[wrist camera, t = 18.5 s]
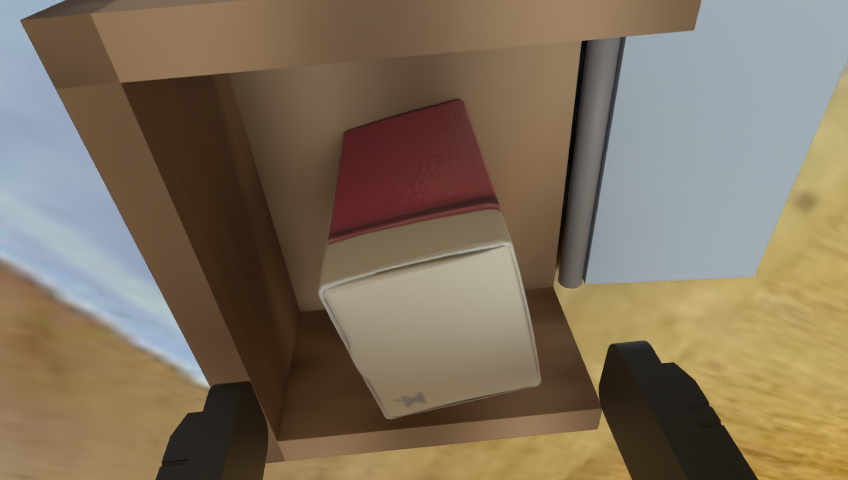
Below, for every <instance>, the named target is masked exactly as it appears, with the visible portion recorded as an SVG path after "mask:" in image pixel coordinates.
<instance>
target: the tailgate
mask: <svg viewBox="0 0 848 480" xmlns="http://www.w3.org/2000/svg"><path fill="white" fill-rule="evenodd" d="M847 59H848V0H702V1H701V5H700V9H699V13H698V17H697V21H696V25H695V29H694V31H683V32H672V33H661V34H650V35H639V36H628V37H617V38H606V39H595V40H587V48H586V57H585V65H584V73H583V81H582V89H581V97H580V106H579V114H578V122H577V130H576V138H575V146H574V155H573V163H572V171H571V179H570V187H569V195H568V204H567V212H566V220H565V228H564V236H563V245H562V253H561V261H560V269H559V277H558V281H559V283H560V284H561V285H562V286H564V287H566V288H577V287H579V286H580V285H581V284H582V279H583V280H584V283H585V284H606V283H628V282H650V281H672V280H694V279H716V278H738V277H754V275H755V273H756V270H757V268H758V266H759V263H760V261H761V259H762V257H763V254H764V252H765V250H766V247H767V245H768V243H769V240H770V238H771V236H772V233H773V231H774V229H775V226H776V224H777V222H778V219H779V217H780V215H781V212H782V210H783V208H784V206H785V203H786V201H787V199H788V196H789V194H790V192H791V189H792V187H793V185H794V182H795V180H796V178H797V175H798V173H799V171H800V168H801V166H802V164H803V161H804V159H805V157H806V154H807V152H808V150H809V148H810V145H811V143H812V141H813V138H814V136H815V134H816V131H817V129H818V127H819V124H820V122H821V120H822V117H823V115H824V113H825V110H826V108H827V106H828V103H829V101H830V99H831V97H832V94H833V92H834V90H835V87H836V85H837V83H838V80H839V78H840V76H841V73H842V71H843V69H844V66H845V64H846V62H847Z"/></svg>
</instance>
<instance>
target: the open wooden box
mask: <svg viewBox="0 0 848 480" xmlns="http://www.w3.org/2000/svg"><path fill="white" fill-rule="evenodd" d="M701 1H702V0H65V1H63V2H61V3H58V4H56V5H54V6H51V7H49V8H47V9H45V10H42V11H40V12H38V13H36V14H33V15H31V16H29V17H26V18H24V19H22V20H20V21H21V23H22V25H23V27H24V29H25V31H26V33H27V35H28V37H29V39H30V41H31V42H32V44H33V46H34V48H35V50H36V52H37V54H38V56H39V58H40V60H41V62H42V64H43V66H44V67H45V69H46V71H47V73H48V75H49V77H50V79H51V81H52V83H53V85H54V87H55V89H56V91H57V93H58V94H59V96H60V98H61V100H62V102H63V104H64V106H65V108H66V110H67V112H68V114H69V116H70V118H71V120H72V121H73V123H74V125H75V127H76V129H77V131H78V133H79V135H80V137H81V139H82V141H83V143H84V145H85V146H86V148H87V150H88V152H89V154H90V156H91V158H92V160H93V162H94V164H95V166H96V168H97V170H98V172H99V173H100V175H101V177H102V179H103V181H104V183H105V185H106V187H107V189H108V191H109V193H110V195H111V197H112V198H113V200H114V202H115V204H116V206H117V208H118V210H119V212H120V214H121V216H122V218H123V220H124V222H125V224H126V225H127V227H128V229H129V231H130V233H131V235H132V237H133V239H134V241H135V243H136V245H137V247H138V249H139V250H140V252H141V254H142V256H143V258H144V260H145V262H146V264H147V266H148V268H149V270H150V272H151V274H152V276H153V277H154V279H155V281H156V283H157V285H158V287H159V289H160V291H161V293H162V295H163V297H164V299H165V301H166V303H167V304H168V306H169V308H170V310H171V312H172V314H173V316H174V318H175V320H176V322H177V324H178V326H179V328H180V329H181V331H182V333H183V335H184V337H185V339H186V341H187V343H188V345H189V347H190V349H191V351H192V353H193V355H194V356H195V358H196V360H197V362H198V364H199V366H200V368H201V370H202V372H203V374H204V376H205V378H206V380H207V381H208V383H209V385H210V387H212V386H213V385H215V384H223V383H232V382H242V381H250V382H251V384H252V386H253V388H254V391H255V393H256V396H257V398H258V400H259V403H260V405H261V408H262V410H263V413H264V415H265V418H266V421H267V425H268V450H267V456H266V462H265V463H272V462H282V461H292V460H302V459H311V458H321V457H331V456H341V455H350V454H360V453H370V452H380V451H389V450H399V449H409V448H419V447H428V446H438V445H448V444H458V443H467V442H477V441H487V440H497V439H506V438H516V437H526V436H536V435H545V434H555V433H565V432H575V431H584V430H594V429H598V425H599V421H600V417H601V413H602V407H601V404H600V401H599V399H598V396H597V394H596V391H595V389H594V386H593V384H592V381H591V379H590V376H589V374H588V372H587V369H586V367H585V364H584V362H583V359H582V357H581V354H580V352H579V349H578V347H577V344H576V342H575V340H574V337H573V335H572V332H571V330H570V327H569V325H568V322H567V320H566V317H565V315H564V313H563V310H562V308H561V305H560V303H559V300H558V298H557V295H556V293H555V290H554V288H553V284H554V275H555V266H556V258H557V249H558V240H559V232H560V223H561V215H562V206H563V197H564V189H565V180H566V171H567V163H568V154H569V145H570V137H571V128H572V119H573V111H574V102H575V93H576V85H577V76H578V68H579V59H580V50H581V42H582V41H584V40H595V39H606V38H617V37H628V36H639V35H650V34H661V33H672V32H683V31H694V29H695V25H696V21H697V17H698V13H699V9H700V5H701ZM455 100H462V101H463V102H464V103H465V106H466V108H467V111H468V115H469V117H470V120H471V123H472V126H473V129H474V131H475V134H476V137H477V140H478V143H479V146H480V150H481V153H482V156H483V159H484V161H485V164H486V167H487V170H488V173H489V176H490V179H491V182H492V184H493V187H494V190H495V193H496V196H497V199H498V202H499V205H500V209H501V212H502V215H503V218H504V221H505V223H506V226H507V229H508V232H509V235H510V238H511V241H512V243H513V247H514V251H515V255H516V259H517V263H518V267H519V270H520V274H521V278H522V282H523V287H524V291H525V295H526V300H527V304H528V309H529V313H530V318H531V323H532V328H533V333H534V338H535V344H536V350H537V356H538V363H539V370H540V376H541V383H540V384H539V385H538V386H535V387H531V388H525V389H521V390H516V391H513V392H509V393H504V394H500V395H496V396H491V397H487V398H484V399H478V400H474V401H470V402H465V403H461V404H457V405H453V406H447V407H442V408H439V409H434V410H430V411H425V412H419V413H415V414H410V415H406V416H402V417H398V418H394V419H387V418H385V416H384V415H383V412H382V410H381V408H380V406H379V405H378V403H377V402H376V400H375V398H374V396H373V394H372V393H371V391H370V389H369V388H368V386H367V384H366V382H365V381H364V379H363V377H362V375H361V374H360V372H359V371H358V369H357V367H356V366H355V364H354V362H353V360H352V358H351V356H350V354H349V352H348V350H347V348H346V346H345V344H344V342H343V340H342V339H341V337H340V335H339V333H338V332H337V330H336V328H335V326H334V324H333V322H332V320H331V319H330V316H329V314H328V312H327V310H326V308H325V306H324V305H323V303H322V301H321V299H320V297H319V294H318V289H319V283H320V276H321V270H322V263H323V257H324V251H325V244H326V238H327V231H328V225H329V219H330V213H331V207H332V200H333V194H334V188H335V181H336V175H337V168H338V162H339V155H340V148H341V142H342V136H343V134H344V133H345V132H346V131H349V130H352V129H356V128H359V127H362V126H365V125H368V124H372V123H375V122H378V121H382V120H385V119H388V118H392V117H395V116H399V115H402V114H406V113H410V112H413V111H417V110H421V109H424V108H428V107H432V106H436V105H440V104H443V103H447V102H451V101H455Z"/></svg>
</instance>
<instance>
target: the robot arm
mask: <svg viewBox="0 0 848 480" xmlns="http://www.w3.org/2000/svg"><path fill="white" fill-rule="evenodd" d="M599 398H600V404H601V407H602V411H603V413H604V416H605V418H606V420H607V423H608V425H609V427H610V429H611V432H612V434H613V436H614V439H615V441H616V443H617V446H618V448H619V450H620V453H621V455H622V457H623V460H624V462H625V464H626V467H627V469H628V471H629V474H630V476H631V478H632V480H758V479H757V477H756V476H755V474H754V472H753V471H752V469H751V468H750V466H749V465H748V463H747V461H746V460H745V458H744V457H743V455H742V453H741V452H740V450H739V449H738V447H737V446H736V444H735V442H734V441H733V439H732V438H731V436H730V435H729V433H728V431H727V430H726V428H725V427H724V425H723V426H722V425H721V420H720V419H719V417H718V416H717V414H716V413H715V411H714V409H713V408H712V407H710V406H709V402H708V400H707V398H706V397H705V395H704V394H703V392H702V391H701V389H700V387H699V386H698V384H697V383H696V381H695V380H694V379H693V378H692V377H690V376H689V375H688V374H687V373H686V372H685V371H683V370H682V369H681V368H680V367H679V366H678V365H676V364H675V363H674V362H672V363H663V364H662V363H661V361H660V360H659V358H658V356H657V355H656V353H655V351H654V349H653V348H652V346H651V345H650V344H649V343H648V342H647V341H634V342H625V343H615V344H611V345H610V346H609V348H608V352H607V356H606V359H605V363H604V367H603V371H602V375H601V379H600V383H599ZM267 450H268V425H267V421H266V418H265V415H264V413H263V410H262V408H261V405H260V403H259V400H258V398H257V396H256V393H255V391H254V388H253V386H252V384H251V382H250V381H242V382H232V383H223V384H215V385H213V386H212V387H211V388H210V390H209V393H208V396H207V399H206V402H205V406H204V409H203V412H194V413H188V414H187V415H186V416H185V418H184V419H183V420H182V422H181V423H180V424H179V426H178V427H177V428H176V430H175V431H174V432H173V434H172V435H171V436H170V439H169V442H168V445H167V448H166V451H165V454H164V457H163V460H162V467H160V468H159V471H158V474H157V477H156V480H263V474H264V468H265V462H266V456H267Z"/></svg>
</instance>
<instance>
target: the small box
mask: <svg viewBox="0 0 848 480" xmlns="http://www.w3.org/2000/svg"><path fill="white" fill-rule="evenodd" d="M318 294H319V297H320V299H321V301H322V303H323V305H324V306H325V308H326V310H327V312H328V314H329V316H330V319H331V320H332V322H333V324H334V326H335V328H336V330H337V332H338V333H339V335H340V337H341V339H342V340H343V342H344V344H345V346H346V348H347V350H348V352H349V354H350V356H351V358H352V360H353V362H354V364H355V366H356V367H357V369H358V371H359V372H360V374H361V375H362V377H363V379H364V381H365V382H366V384H367V386H368V388H369V389H370V391H371V393H372V394H373V396H374V398H375V400H376V402H377V403H378V405H379V406H380V408H381V410H382V412H383V415H384V416H385V418H387V419H394V418H398V417H402V416H406V415H410V414H415V413H419V412H425V411H430V410H434V409H439V408H442V407H447V406H453V405H457V404H461V403H465V402H470V401H474V400H478V399H484V398H487V397H491V396H496V395H500V394H504V393H509V392H513V391H516V390H521V389H525V388H531V387H535V386H538V385H539V384H540V383H541V376H540V370H539V363H538V356H537V350H536V344H535V338H534V333H533V328H532V323H531V318H530V313H529V309H528V304H527V300H526V295H525V291H524V287H523V282H522V278H521V274H520V270H519V267H518V263H517V259H516V255H515V251H514V247H513V243H512V241H511V238H510V235H509V232H508V229H507V226H506V223H505V221H504V218H503V215H502V212H501V209H500V205H499V202H498V199H497V196H496V193H495V190H494V187H493V184H492V182H491V179H490V176H489V173H488V170H487V167H486V164H485V161H484V159H483V156H482V153H481V150H480V146H479V143H478V140H477V137H476V134H475V131H474V129H473V126H472V123H471V120H470V117H469V115H468V111H467V108H466V106H465V103H464V102H463V101H462V100H455V101H451V102H447V103H443V104H440V105H436V106H432V107H428V108H424V109H421V110H417V111H413V112H410V113H406V114H402V115H399V116H395V117H392V118H388V119H385V120H382V121H378V122H375V123H372V124H368V125H365V126H362V127H359V128H356V129H352V130H349V131H346V132H345V133H344V134H343V136H342V142H341V148H340V155H339V162H338V168H337V175H336V181H335V188H334V194H333V200H332V207H331V213H330V219H329V225H328V231H327V238H326V244H325V251H324V257H323V263H322V270H321V276H320V283H319V289H318Z"/></svg>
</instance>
